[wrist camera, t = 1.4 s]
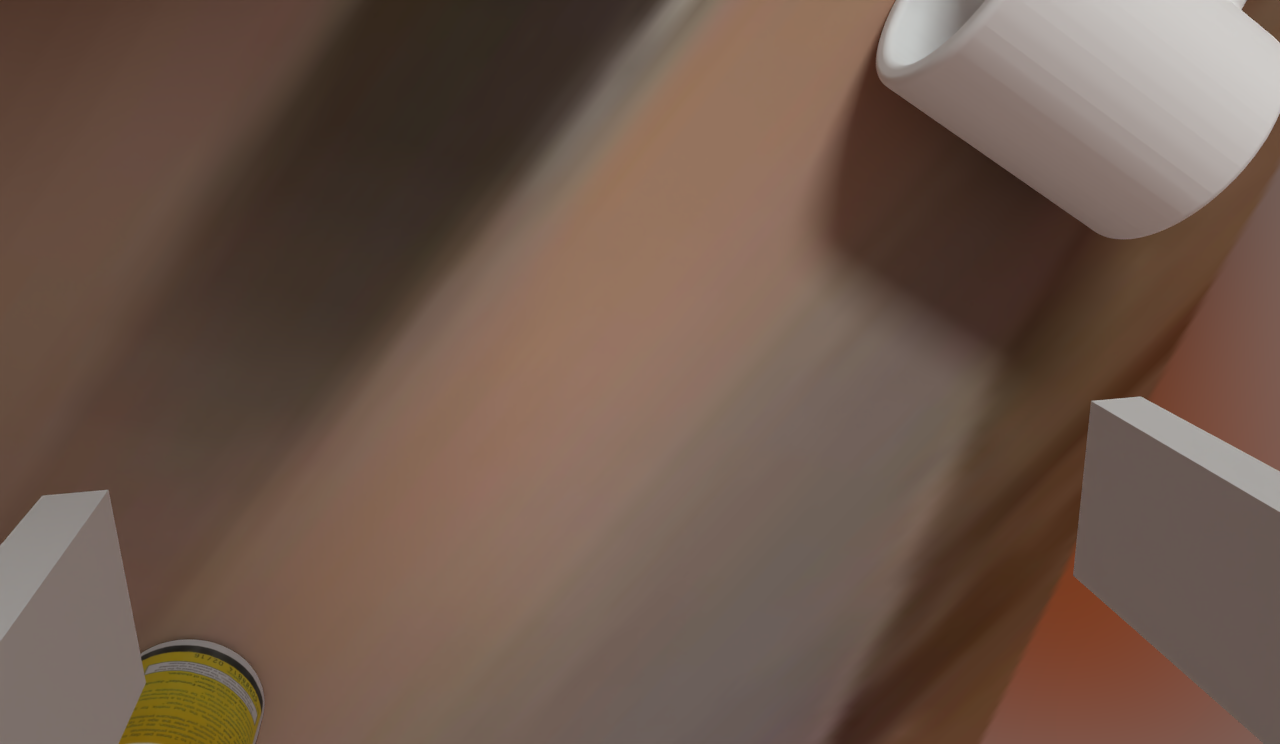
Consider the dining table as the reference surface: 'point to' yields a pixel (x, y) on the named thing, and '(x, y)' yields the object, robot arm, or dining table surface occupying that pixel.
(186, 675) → the supplement bottle
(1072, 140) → the mug
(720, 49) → the dining table surface
